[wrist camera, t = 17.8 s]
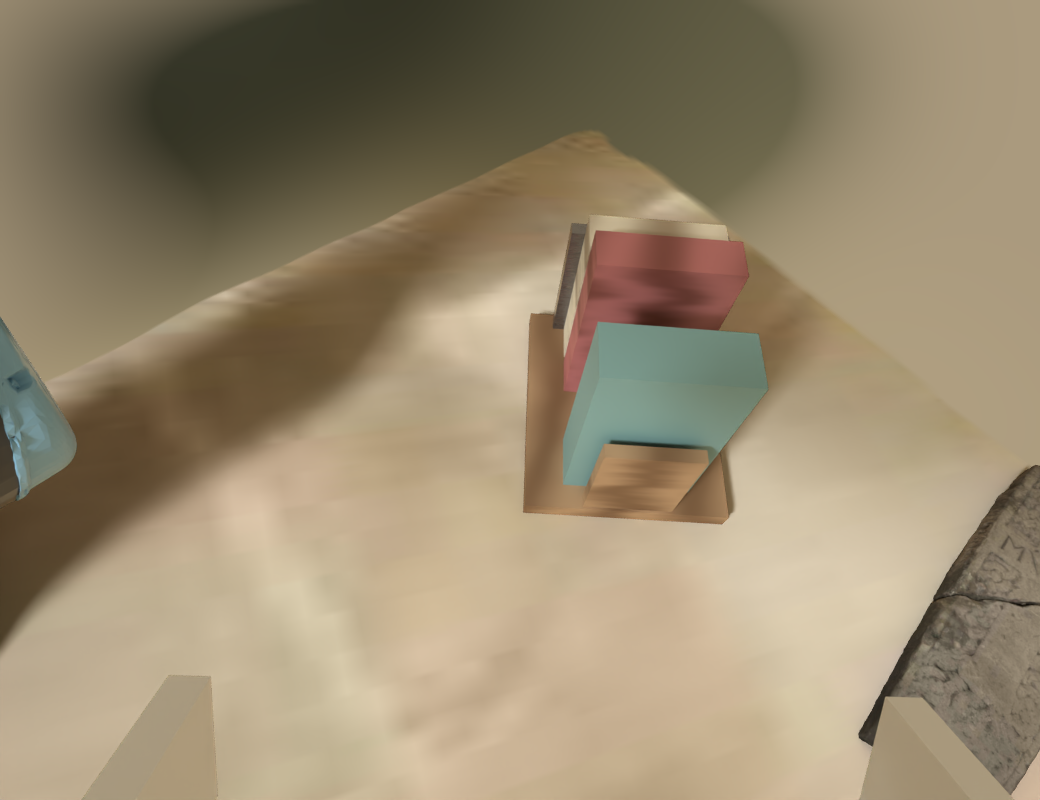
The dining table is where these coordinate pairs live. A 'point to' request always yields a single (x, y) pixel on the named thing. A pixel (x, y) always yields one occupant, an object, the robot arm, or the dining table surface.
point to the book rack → (567, 340)
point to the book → (661, 392)
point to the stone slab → (984, 641)
